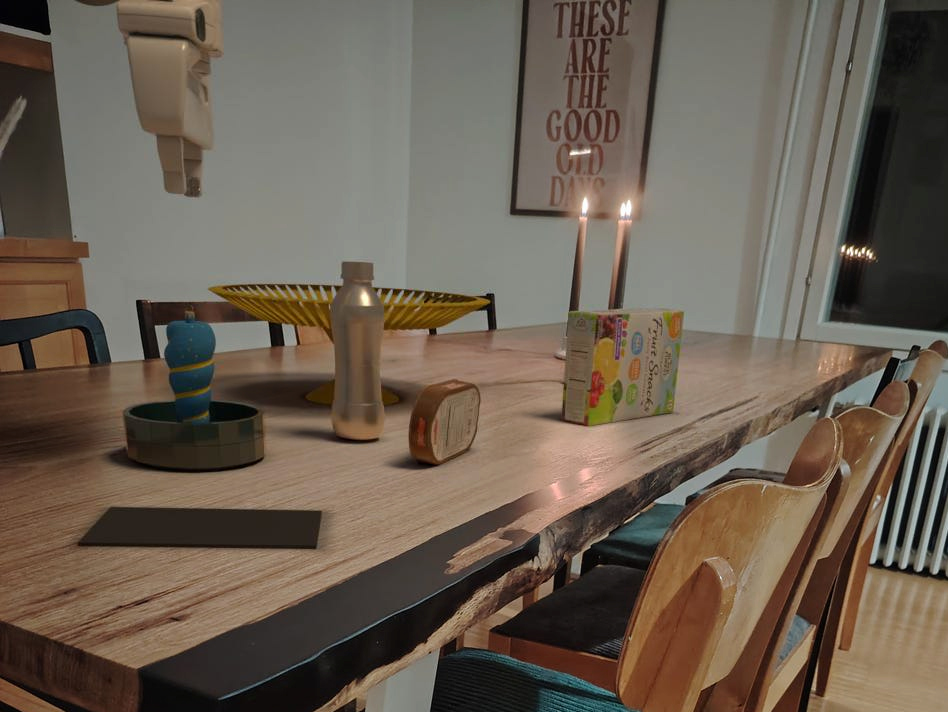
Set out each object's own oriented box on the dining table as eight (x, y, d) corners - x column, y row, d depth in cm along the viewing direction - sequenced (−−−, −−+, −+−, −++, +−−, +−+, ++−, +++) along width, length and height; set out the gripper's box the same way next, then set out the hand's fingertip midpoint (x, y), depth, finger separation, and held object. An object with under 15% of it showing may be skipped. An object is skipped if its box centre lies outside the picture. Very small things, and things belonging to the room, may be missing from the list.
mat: (78, 547, 71) (77, 542, 71) (110, 511, 80) (110, 506, 80) (316, 550, 73) (316, 545, 73) (321, 514, 82) (321, 510, 82)
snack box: (644, 408, 145) (656, 306, 139) (674, 413, 142) (688, 309, 136) (557, 421, 131) (567, 308, 125) (589, 427, 128) (600, 312, 122)
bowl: (113, 472, 92) (107, 421, 90) (144, 442, 105) (139, 397, 103) (258, 475, 94) (256, 425, 92) (271, 445, 107) (269, 401, 105)
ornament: (182, 446, 102) (170, 301, 96) (228, 448, 101) (220, 304, 95) (165, 456, 97) (152, 304, 91) (214, 459, 97) (204, 307, 91)
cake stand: (477, 384, 160) (481, 291, 154) (496, 429, 123) (502, 309, 117) (240, 374, 156) (235, 279, 150) (185, 417, 119) (176, 294, 114)
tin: (458, 445, 112) (461, 373, 109) (482, 448, 111) (486, 376, 108) (404, 469, 99) (406, 389, 96) (431, 473, 98) (434, 392, 95)
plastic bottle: (346, 447, 108) (344, 262, 100) (321, 436, 113) (318, 260, 105) (394, 443, 112) (397, 264, 104) (369, 432, 117) (369, 261, 109)
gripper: (159, 46, 94) (171, 197, 99) (110, 1, 75) (127, 189, 81) (223, 51, 95) (231, 200, 100) (190, 8, 76) (202, 193, 82)
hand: (184, 195), depth 90 cm, fingers open, 8 cm apart
